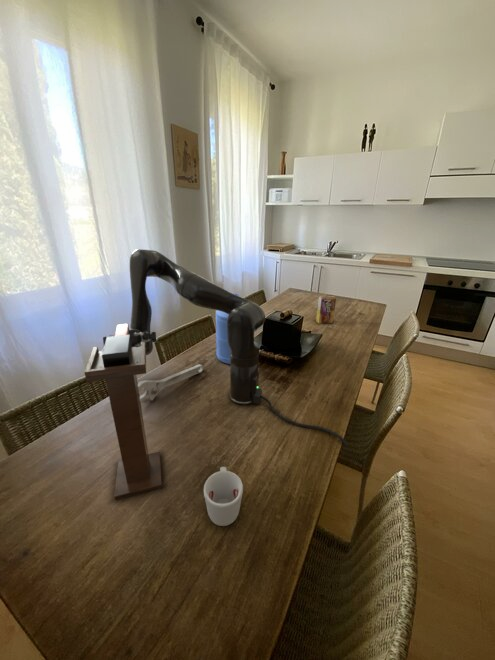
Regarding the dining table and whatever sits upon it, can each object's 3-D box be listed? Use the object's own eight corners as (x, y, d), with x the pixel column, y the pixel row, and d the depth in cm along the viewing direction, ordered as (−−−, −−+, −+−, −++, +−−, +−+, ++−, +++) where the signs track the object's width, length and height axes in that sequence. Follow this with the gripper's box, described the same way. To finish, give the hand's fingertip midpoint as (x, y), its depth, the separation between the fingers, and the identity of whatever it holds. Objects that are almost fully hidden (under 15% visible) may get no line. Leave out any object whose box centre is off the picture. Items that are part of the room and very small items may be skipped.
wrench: (203, 377, 112) (136, 408, 89) (200, 375, 113) (133, 406, 90) (204, 358, 110) (135, 386, 86) (201, 357, 111) (132, 383, 87)
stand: (118, 463, 70) (93, 347, 57) (159, 454, 74) (145, 341, 60) (114, 499, 62) (84, 372, 49) (161, 487, 65) (145, 364, 52)
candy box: (329, 320, 166) (333, 295, 160) (332, 323, 162) (336, 297, 156) (315, 320, 165) (318, 296, 159) (318, 323, 161) (321, 298, 155)
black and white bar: (113, 331, 67) (111, 319, 66) (133, 329, 68) (131, 317, 67) (104, 369, 52) (101, 354, 50) (130, 365, 53) (127, 351, 52)
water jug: (209, 360, 119) (208, 297, 108) (226, 345, 132) (226, 287, 121) (243, 368, 114) (245, 303, 103) (257, 352, 127) (259, 292, 116)
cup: (206, 485, 66) (205, 460, 63) (240, 483, 66) (240, 458, 63) (203, 533, 56) (202, 507, 53) (243, 531, 57) (244, 504, 53)
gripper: (109, 333, 90) (98, 326, 74) (155, 328, 94) (154, 321, 79) (111, 356, 89) (100, 354, 74) (158, 350, 93) (157, 347, 78)
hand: (128, 337), depth 76 cm, fingers open, 8 cm apart
